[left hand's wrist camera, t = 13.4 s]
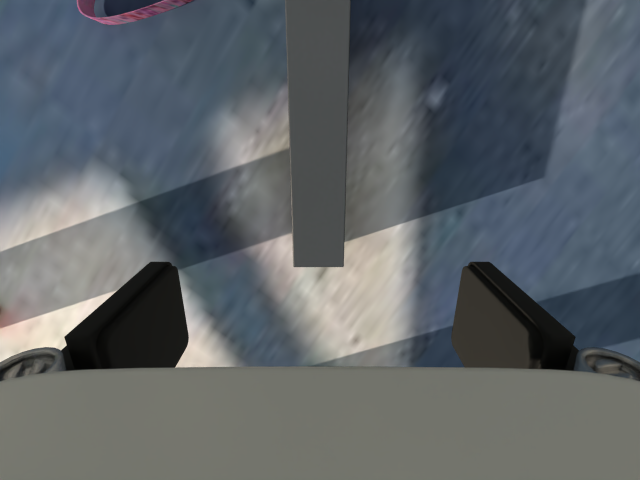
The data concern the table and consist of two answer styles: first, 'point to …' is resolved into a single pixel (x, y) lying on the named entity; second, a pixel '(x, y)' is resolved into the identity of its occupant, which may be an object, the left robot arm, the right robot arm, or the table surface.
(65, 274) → the table surface
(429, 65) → the table surface
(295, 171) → the beam
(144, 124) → the table surface
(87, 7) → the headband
